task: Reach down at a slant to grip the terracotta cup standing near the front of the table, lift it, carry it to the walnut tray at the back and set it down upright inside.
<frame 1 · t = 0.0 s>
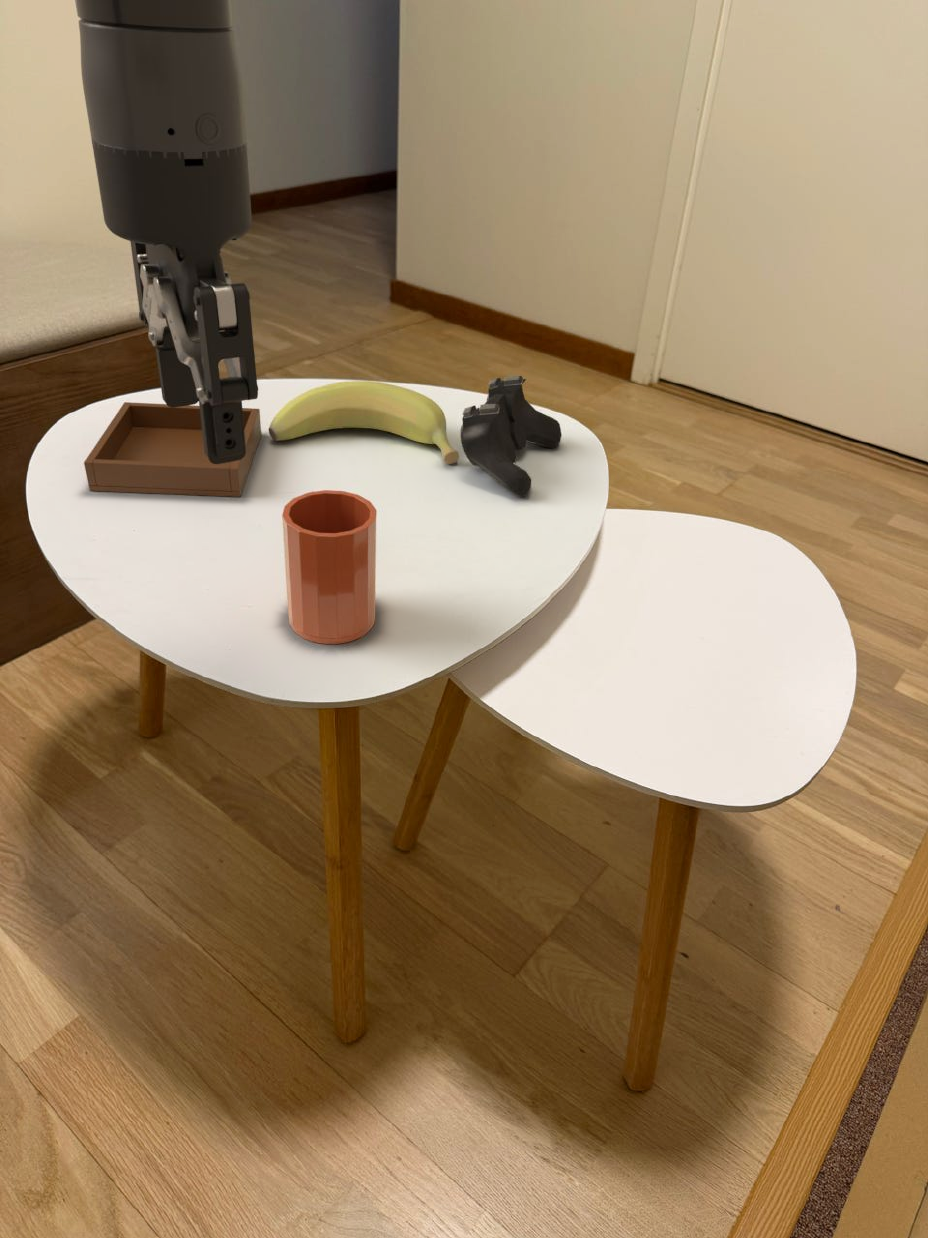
hand: (203, 430, 54), 20 cm above the table, tool pointing down, fingers open, 8 cm apart
tray: (181, 460, 94), on the table
cup: (332, 618, 73), on the table
chunky heeled booties: (508, 464, 99), on the table
banana: (374, 446, 100), on the table
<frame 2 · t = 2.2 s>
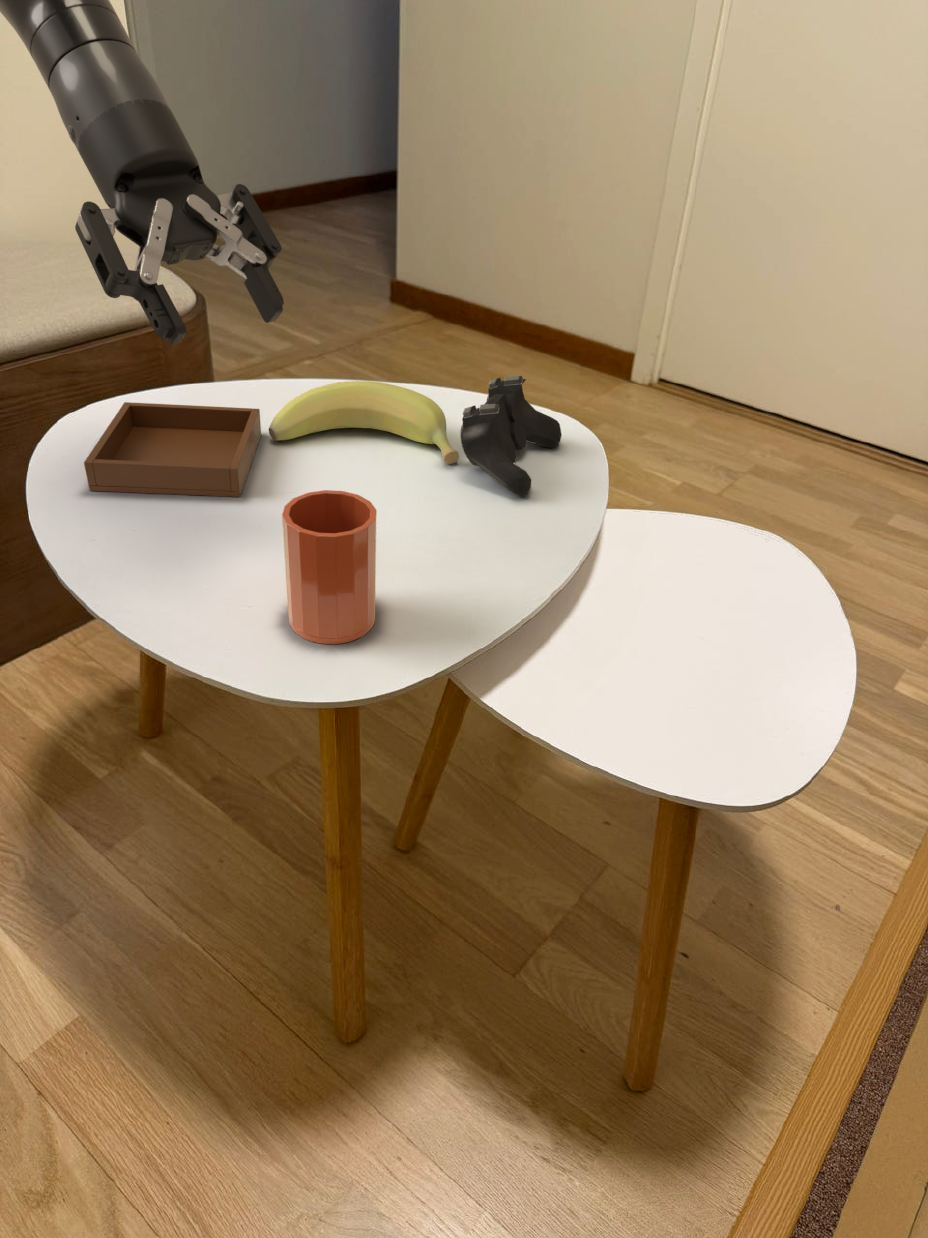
hand: (229, 327, 67), 21 cm above the table, tool tilted 45°, fingers open, 8 cm apart
nothing on the table moved.
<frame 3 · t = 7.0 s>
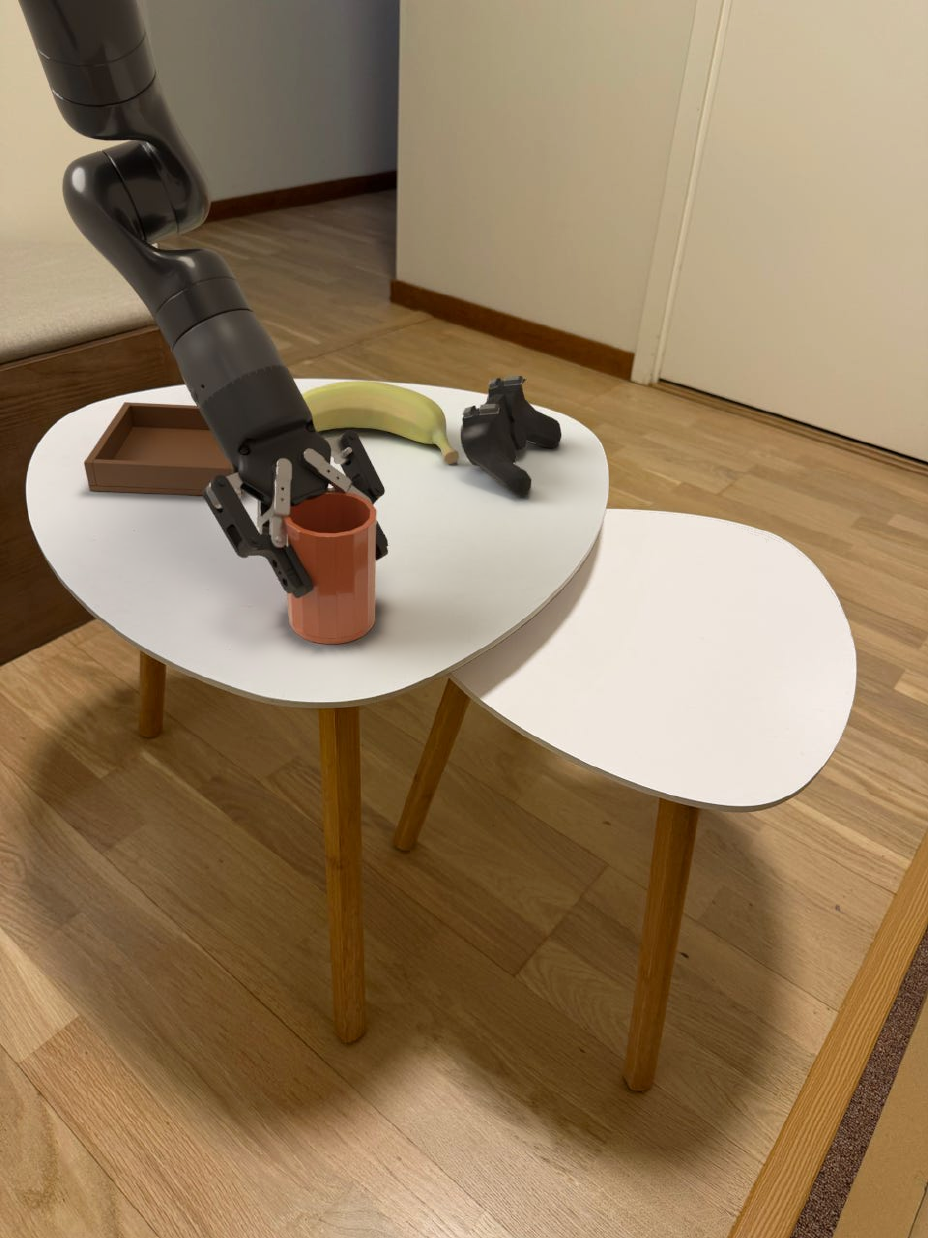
hand: (343, 575, 70), 5 cm above the table, tool tilted 45°, fingers closed on cup, 7 cm apart
cup: (332, 618, 73), on the table, touching gripper
everything else where it was.
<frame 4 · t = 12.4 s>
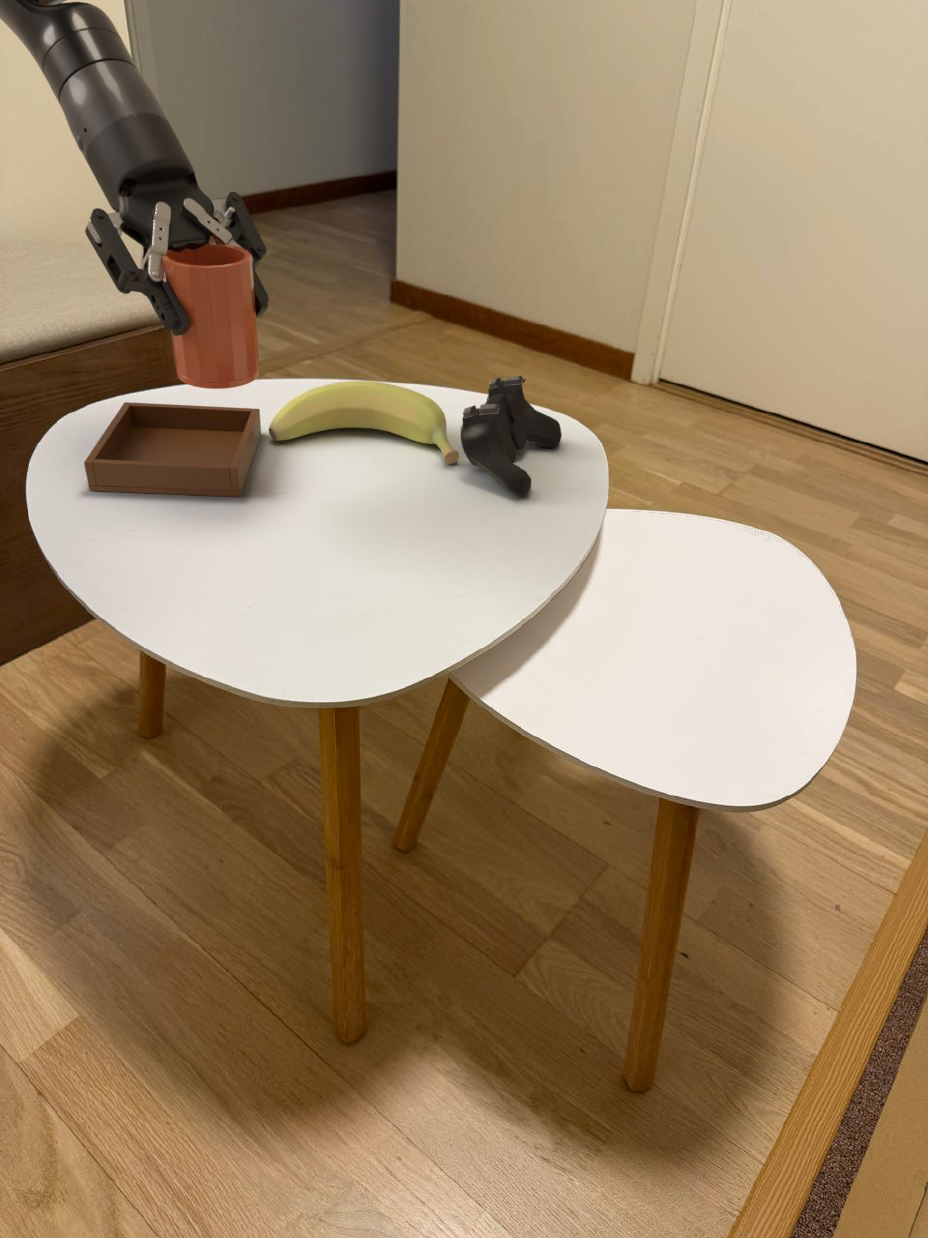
hand: (223, 321, 74), 19 cm above the table, tool tilted 45°, fingers closed on cup, 7 cm apart
cup: (218, 373, 78), point 14 cm above the table, touching gripper
everything else where it was.
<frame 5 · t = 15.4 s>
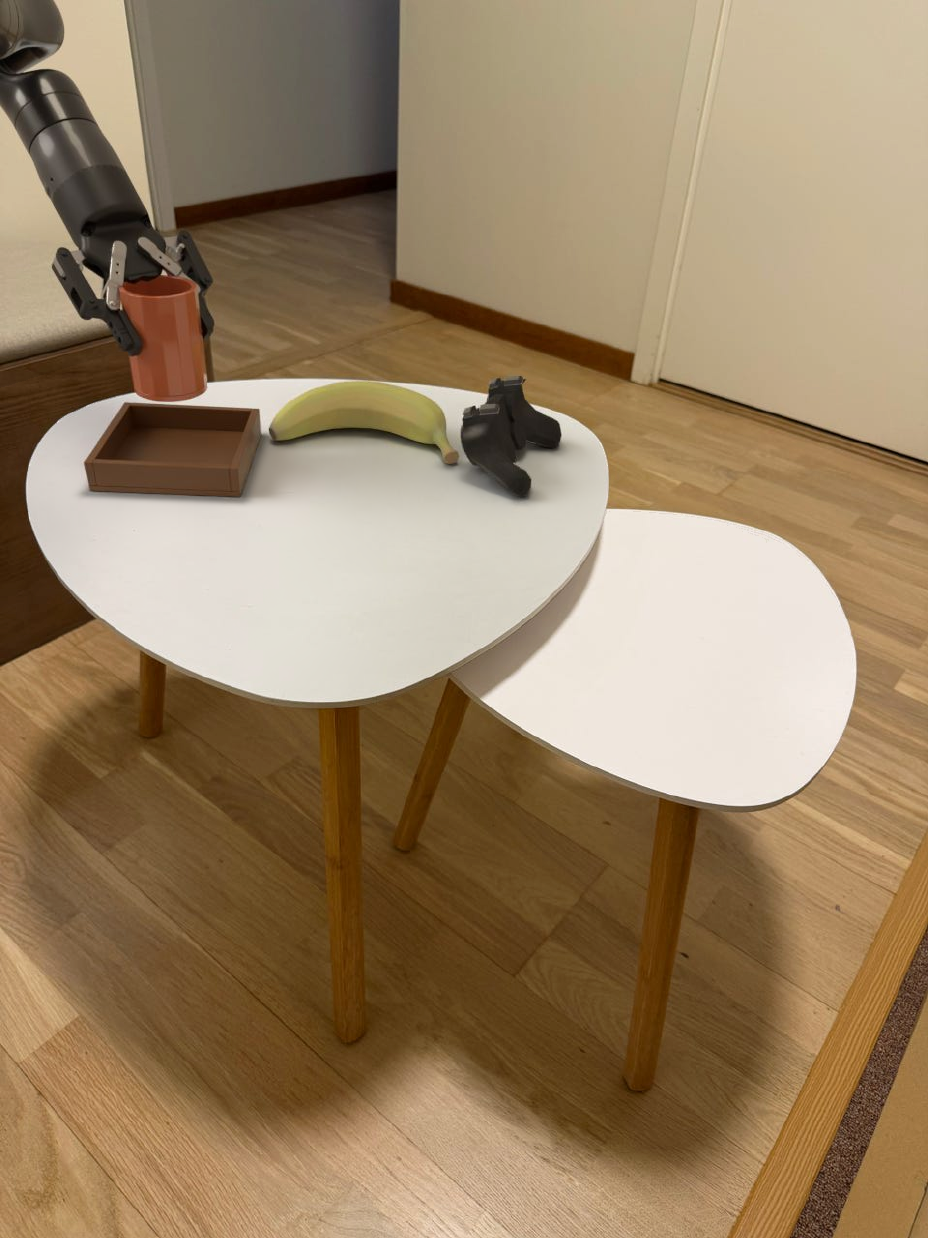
hand: (173, 343, 85), 13 cm above the table, tool tilted 45°, fingers closed on cup, 7 cm apart
cup: (171, 388, 89), point 8 cm above the table, touching gripper
everything else where it was.
when the fingers open (6 cm above the table, at t = 18.1 s): cup stays where it is, resting on tray.
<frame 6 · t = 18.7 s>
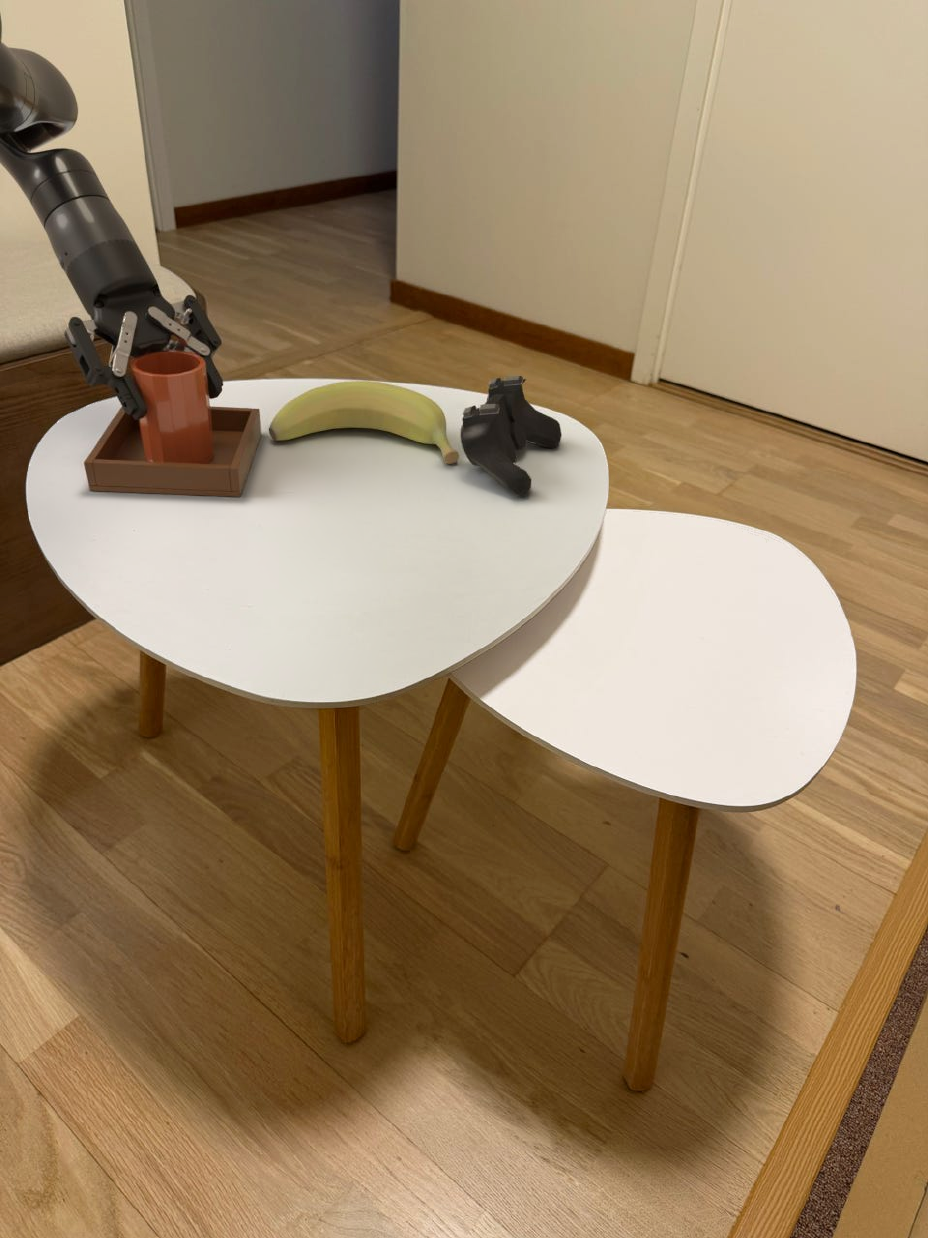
hand: (180, 404, 89), 7 cm above the table, tool tilted 45°, fingers open, 8 cm apart
cup: (180, 455, 94), point 1 cm above the table, touching tray
everything else where it was.
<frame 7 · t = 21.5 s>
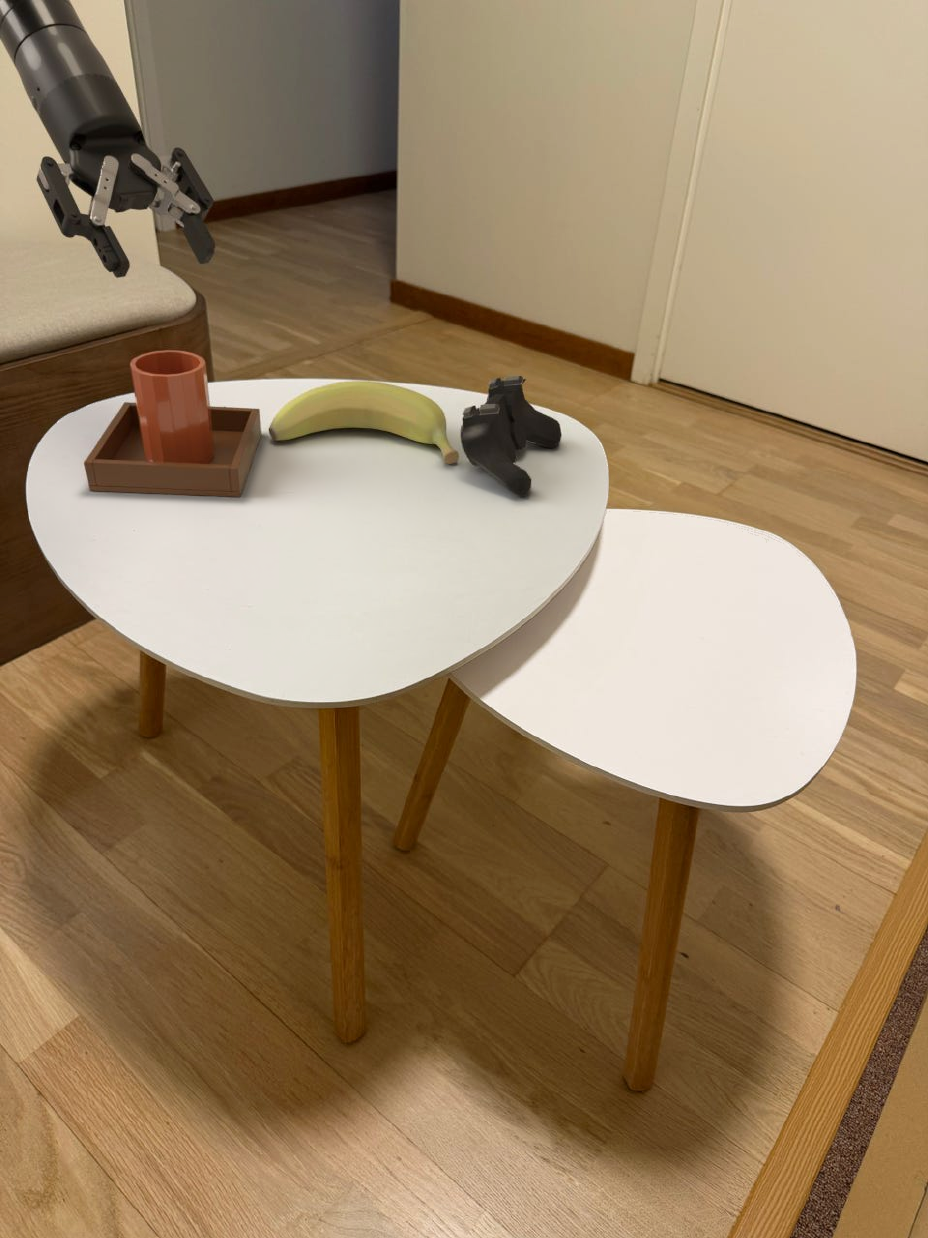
hand: (167, 265, 80), 21 cm above the table, tool tilted 45°, fingers open, 8 cm apart
nothing on the table moved.
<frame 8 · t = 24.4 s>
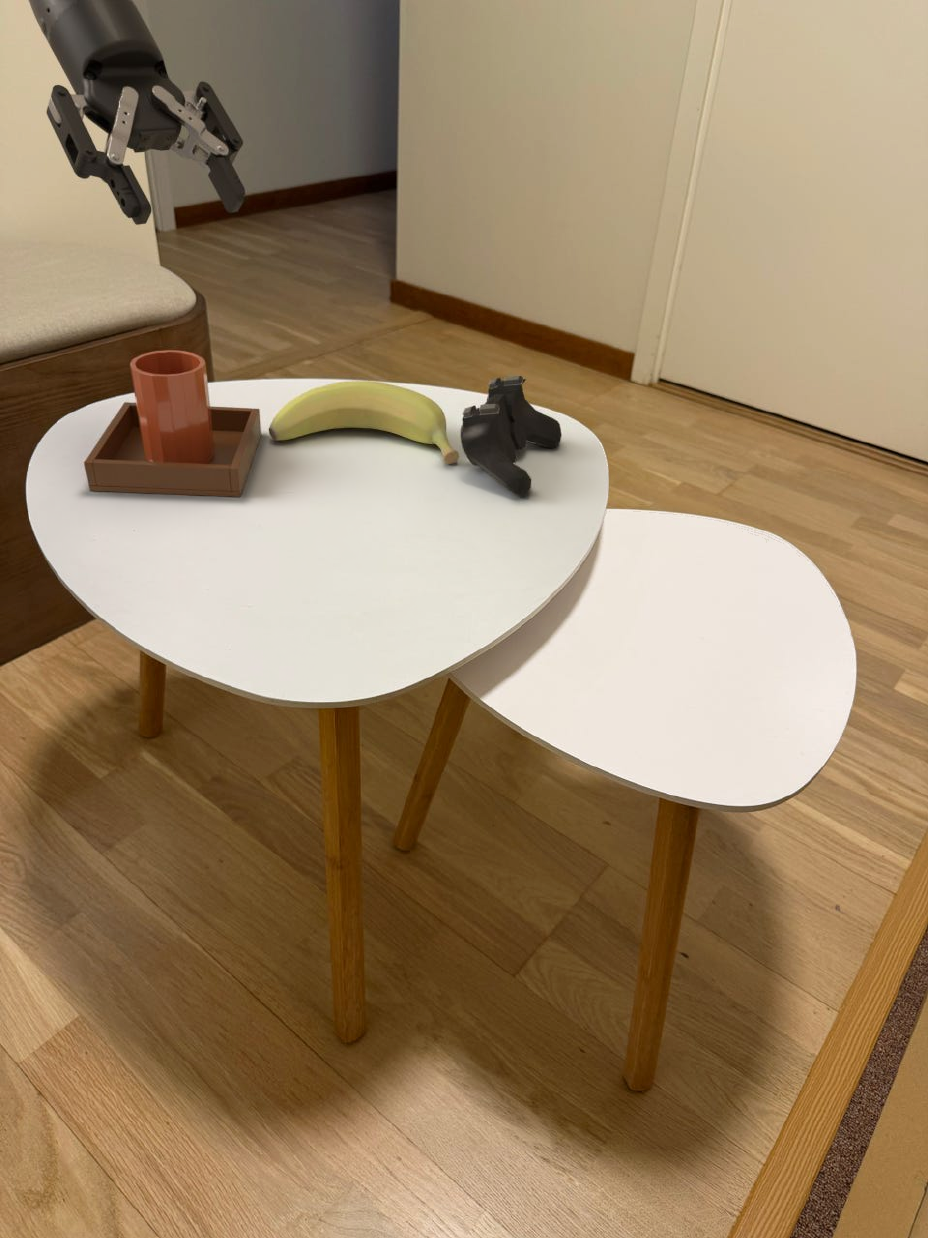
hand: (193, 212, 71), 27 cm above the table, tool tilted 45°, fingers open, 8 cm apart
nothing on the table moved.
at the end: cup inside the target area in the tray (0.1 cm from its centre), point 0.6 cm above the tray's base; cup tilted 0°; the gripper is holding nothing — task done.
